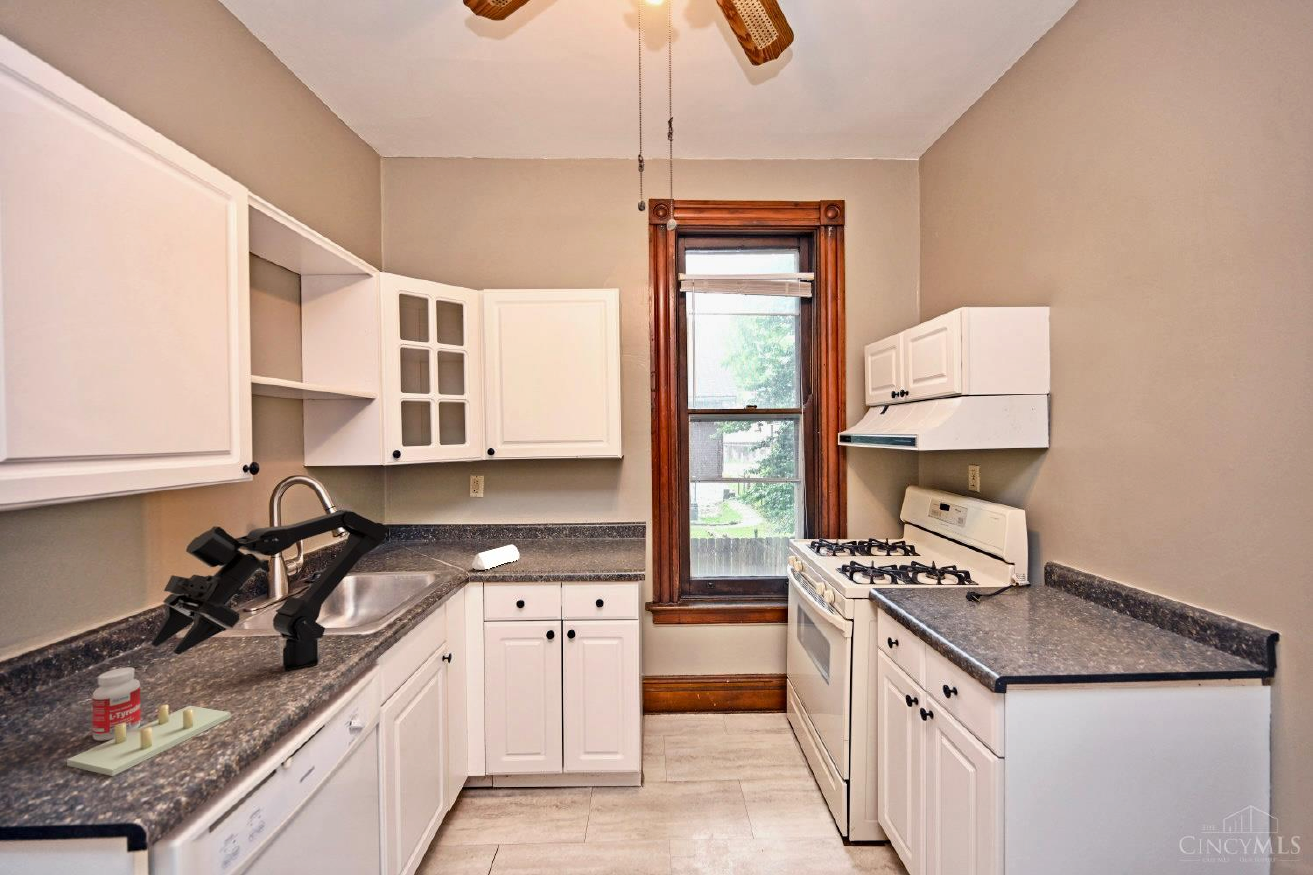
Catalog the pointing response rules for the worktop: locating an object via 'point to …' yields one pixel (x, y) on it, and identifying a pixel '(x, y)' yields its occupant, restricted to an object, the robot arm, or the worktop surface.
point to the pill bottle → (116, 703)
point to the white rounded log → (495, 557)
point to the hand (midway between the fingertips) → (164, 649)
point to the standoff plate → (147, 739)
